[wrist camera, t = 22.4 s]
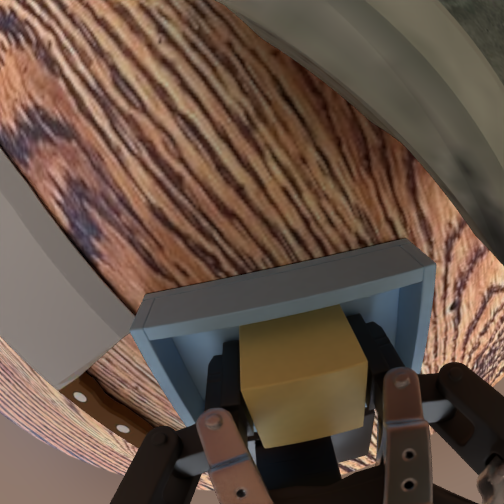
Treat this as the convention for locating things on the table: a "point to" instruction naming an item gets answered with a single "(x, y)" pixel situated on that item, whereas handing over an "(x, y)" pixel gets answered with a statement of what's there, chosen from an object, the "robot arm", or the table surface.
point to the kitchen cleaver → (58, 306)
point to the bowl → (411, 83)
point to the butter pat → (303, 376)
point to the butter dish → (283, 311)
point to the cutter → (310, 457)
